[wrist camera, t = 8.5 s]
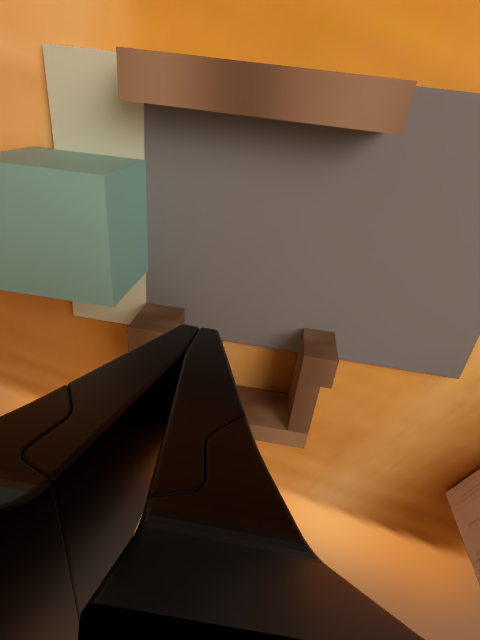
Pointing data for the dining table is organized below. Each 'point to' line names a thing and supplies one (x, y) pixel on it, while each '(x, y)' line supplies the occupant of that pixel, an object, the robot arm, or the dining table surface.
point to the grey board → (295, 219)
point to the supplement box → (468, 515)
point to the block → (72, 224)
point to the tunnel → (274, 103)
